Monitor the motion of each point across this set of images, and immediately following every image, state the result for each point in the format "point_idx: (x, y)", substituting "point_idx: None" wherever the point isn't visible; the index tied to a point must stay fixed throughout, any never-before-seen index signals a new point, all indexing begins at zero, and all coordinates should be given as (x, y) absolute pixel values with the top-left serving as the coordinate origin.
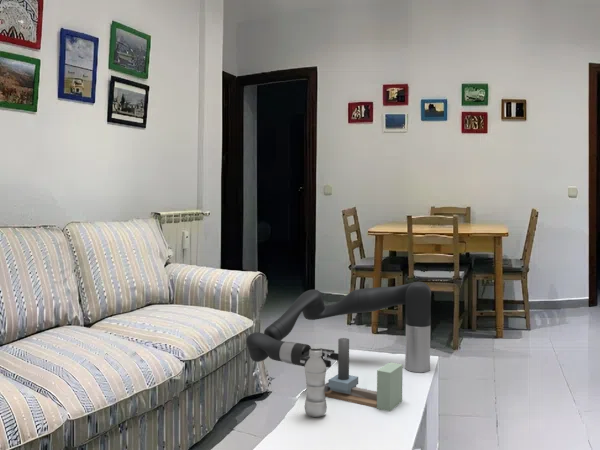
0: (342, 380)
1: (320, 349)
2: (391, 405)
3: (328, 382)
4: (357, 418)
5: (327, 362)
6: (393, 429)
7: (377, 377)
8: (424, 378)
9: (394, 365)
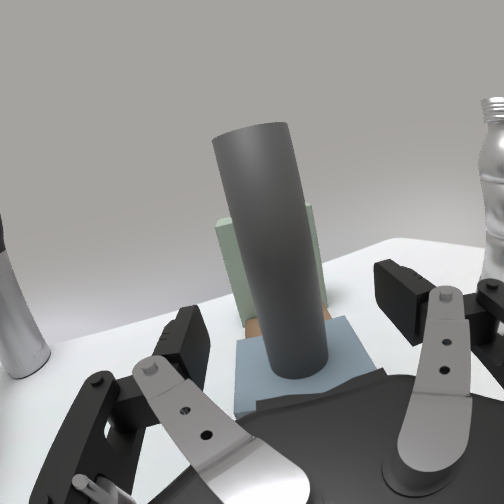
0: (330, 343)
1: (483, 101)
2: None
3: None
4: None
5: (403, 266)
6: (380, 256)
7: (314, 225)
8: (82, 341)
9: None
